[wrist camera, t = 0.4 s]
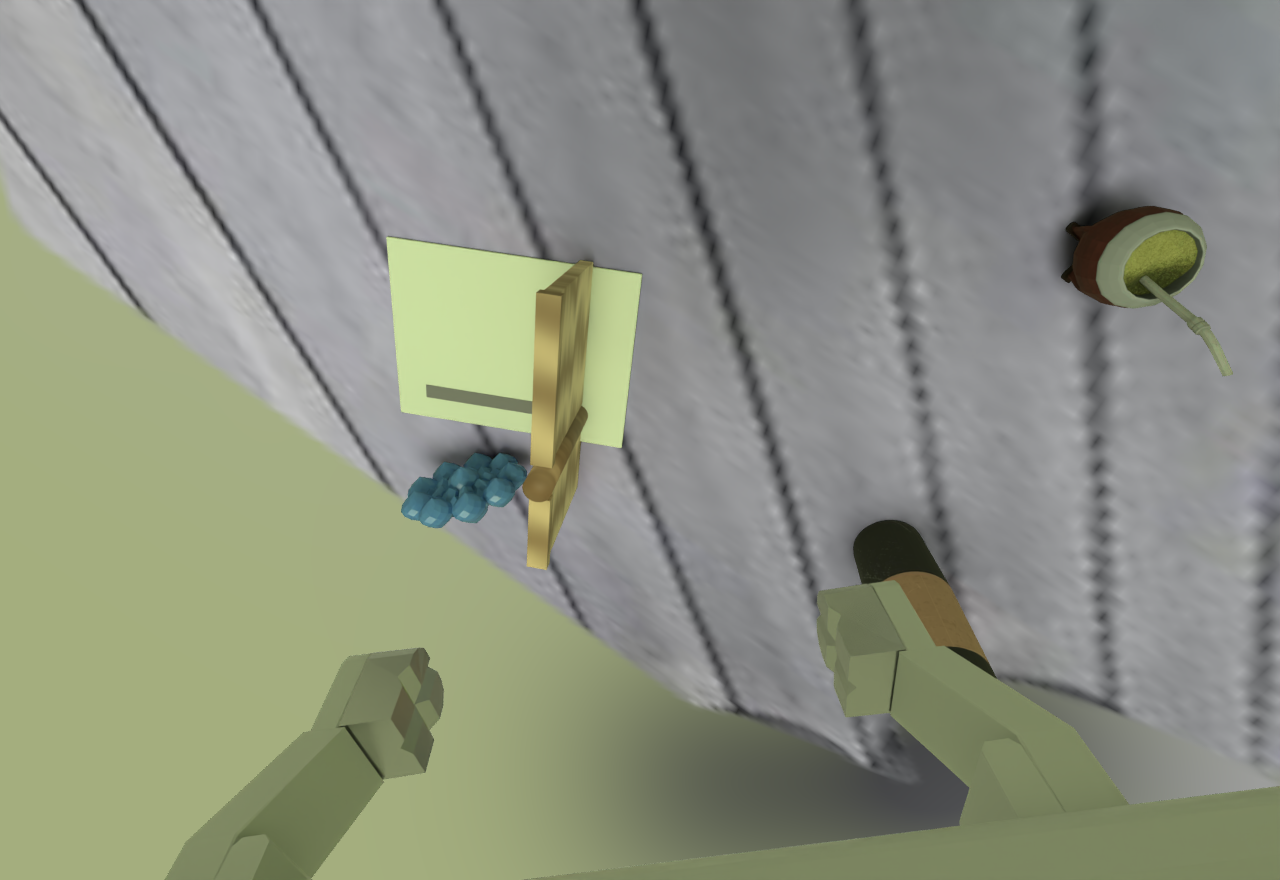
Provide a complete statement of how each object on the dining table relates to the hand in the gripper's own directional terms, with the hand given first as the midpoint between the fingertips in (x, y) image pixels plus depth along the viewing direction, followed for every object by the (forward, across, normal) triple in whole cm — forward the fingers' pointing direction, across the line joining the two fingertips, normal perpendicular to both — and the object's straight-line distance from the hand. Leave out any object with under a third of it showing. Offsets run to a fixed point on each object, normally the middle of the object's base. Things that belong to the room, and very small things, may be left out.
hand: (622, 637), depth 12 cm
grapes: (+46, +18, +24) cm, 55 cm away
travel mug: (+38, -24, +37) cm, 58 cm away
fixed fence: (+44, +8, +22) cm, 50 cm away
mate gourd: (+39, -39, +8) cm, 55 cm away
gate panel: (+44, +5, +10) cm, 45 cm away
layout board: (+46, +12, +11) cm, 49 cm away
